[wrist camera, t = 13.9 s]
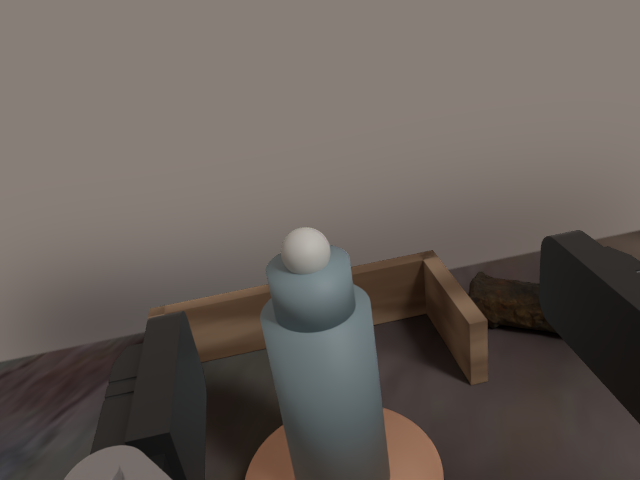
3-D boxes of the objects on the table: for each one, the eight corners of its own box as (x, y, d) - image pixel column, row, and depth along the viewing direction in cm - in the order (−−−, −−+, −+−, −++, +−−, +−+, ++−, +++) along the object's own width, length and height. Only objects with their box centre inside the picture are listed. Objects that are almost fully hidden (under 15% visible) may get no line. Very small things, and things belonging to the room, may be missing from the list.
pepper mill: (400, 447, 33) (375, 206, 26) (376, 526, 29) (339, 262, 22) (315, 432, 35) (272, 204, 28) (281, 504, 31) (221, 255, 24)
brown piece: (463, 333, 44) (462, 282, 42) (478, 305, 47) (477, 256, 45) (770, 395, 35) (787, 333, 33) (764, 355, 38) (780, 296, 36)
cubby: (166, 360, 46) (149, 308, 44) (435, 302, 48) (432, 250, 46) (155, 458, 37) (133, 398, 35) (488, 381, 39) (487, 320, 37)
